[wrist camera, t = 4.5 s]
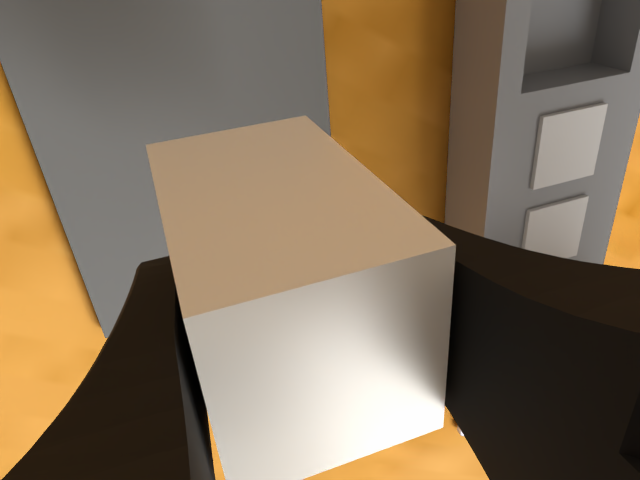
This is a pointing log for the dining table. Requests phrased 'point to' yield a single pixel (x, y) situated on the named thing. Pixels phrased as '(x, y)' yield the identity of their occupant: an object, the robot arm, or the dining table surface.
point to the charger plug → (303, 297)
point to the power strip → (542, 121)
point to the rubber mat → (147, 105)
